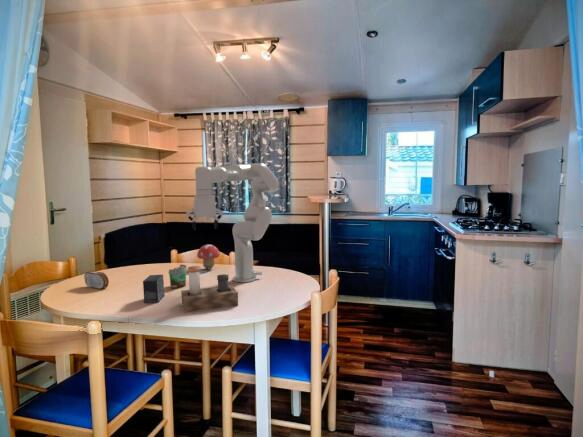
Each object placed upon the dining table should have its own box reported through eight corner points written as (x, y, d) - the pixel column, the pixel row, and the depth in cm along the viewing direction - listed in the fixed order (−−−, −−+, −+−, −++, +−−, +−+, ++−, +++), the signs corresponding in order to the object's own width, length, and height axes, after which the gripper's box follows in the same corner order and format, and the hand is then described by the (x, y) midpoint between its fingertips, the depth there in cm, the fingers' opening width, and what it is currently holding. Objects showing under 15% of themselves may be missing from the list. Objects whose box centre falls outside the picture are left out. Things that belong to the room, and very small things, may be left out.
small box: (150, 296, 169) (149, 274, 168) (164, 296, 169) (163, 274, 168) (143, 304, 158) (142, 280, 157) (158, 303, 159) (157, 280, 158)
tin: (109, 288, 182) (108, 272, 181) (104, 290, 179) (103, 273, 178) (89, 285, 188) (88, 269, 187) (83, 287, 185) (82, 271, 185)
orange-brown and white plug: (200, 293, 156) (199, 265, 155) (201, 296, 152) (200, 268, 151) (188, 294, 155) (187, 266, 154) (189, 297, 150) (188, 269, 149)
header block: (232, 298, 166) (231, 285, 165) (238, 306, 154) (237, 292, 154) (181, 304, 158) (181, 290, 157) (184, 313, 146) (183, 298, 146)
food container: (180, 290, 179) (179, 270, 178) (169, 289, 180) (168, 269, 179) (192, 283, 191) (191, 264, 190) (181, 282, 192) (180, 264, 191)
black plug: (228, 300, 161) (227, 273, 160) (230, 303, 157) (229, 276, 156) (217, 301, 159) (216, 275, 158) (219, 305, 155) (218, 277, 154)
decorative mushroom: (212, 272, 214) (211, 247, 213) (193, 270, 219) (192, 245, 217) (224, 267, 226) (223, 243, 225) (206, 265, 231) (205, 242, 230)
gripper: (221, 192, 177) (222, 227, 179) (184, 193, 171) (185, 229, 173) (224, 193, 170) (225, 229, 172) (185, 193, 164) (187, 231, 166)
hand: (205, 229), depth 172 cm, fingers open, 9 cm apart
